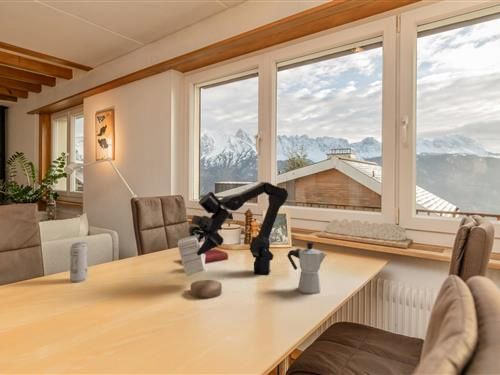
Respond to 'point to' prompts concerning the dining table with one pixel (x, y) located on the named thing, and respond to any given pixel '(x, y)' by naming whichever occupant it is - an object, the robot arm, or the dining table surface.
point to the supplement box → (191, 255)
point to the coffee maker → (308, 268)
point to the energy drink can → (78, 262)
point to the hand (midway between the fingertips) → (191, 252)
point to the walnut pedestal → (206, 289)
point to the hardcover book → (215, 256)
